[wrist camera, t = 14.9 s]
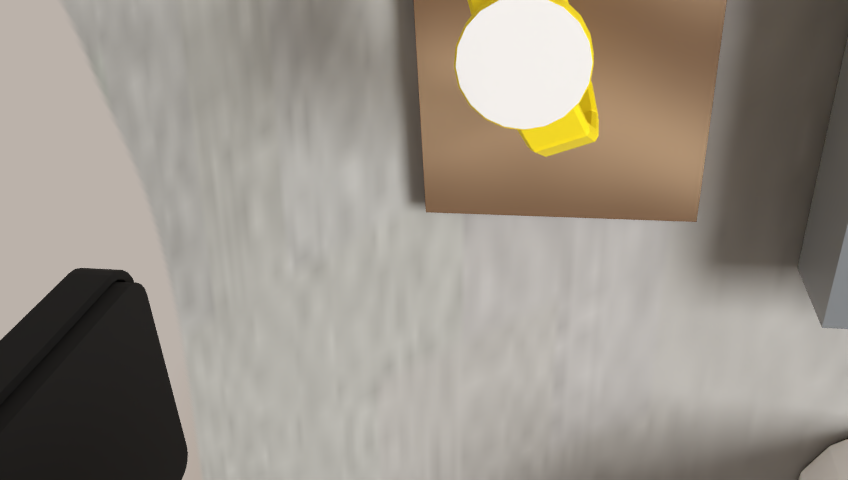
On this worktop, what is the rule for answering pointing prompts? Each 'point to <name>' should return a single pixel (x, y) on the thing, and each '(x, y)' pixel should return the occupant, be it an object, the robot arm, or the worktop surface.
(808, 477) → the white cup
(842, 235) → the bin
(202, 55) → the worktop surface
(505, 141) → the board
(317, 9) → the worktop surface
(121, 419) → the robot arm
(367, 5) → the worktop surface
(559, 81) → the watch
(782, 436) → the worktop surface
